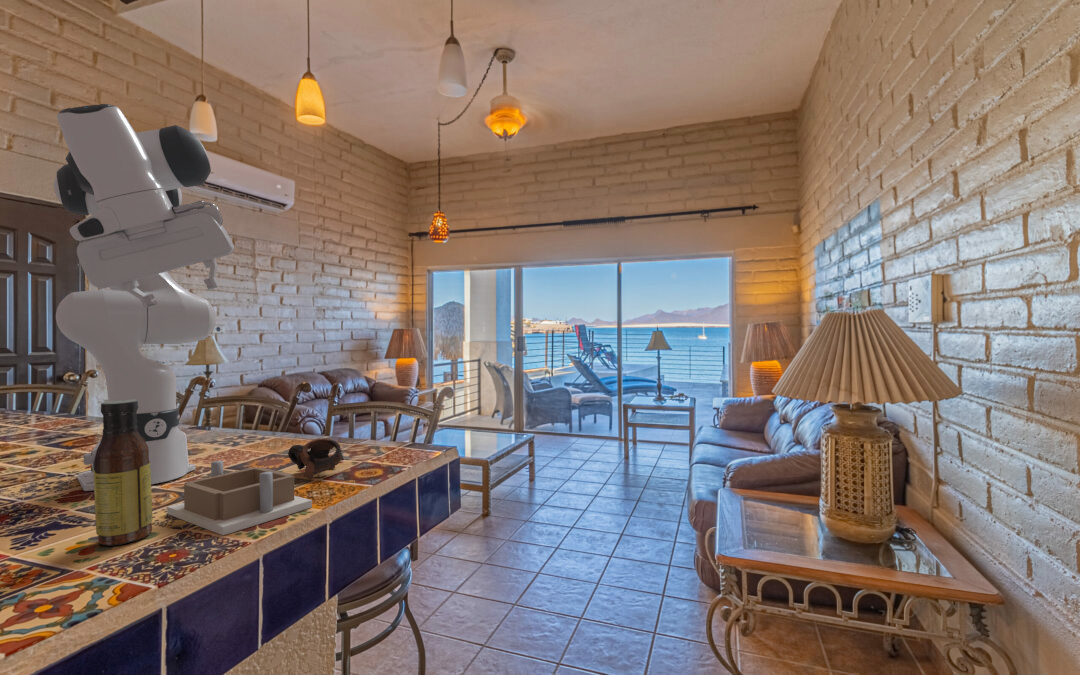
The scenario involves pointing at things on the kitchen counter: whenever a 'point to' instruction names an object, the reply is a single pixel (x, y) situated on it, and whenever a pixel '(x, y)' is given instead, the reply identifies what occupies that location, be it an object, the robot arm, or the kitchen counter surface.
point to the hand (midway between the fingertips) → (183, 296)
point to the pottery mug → (315, 456)
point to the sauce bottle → (122, 477)
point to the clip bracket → (238, 499)
